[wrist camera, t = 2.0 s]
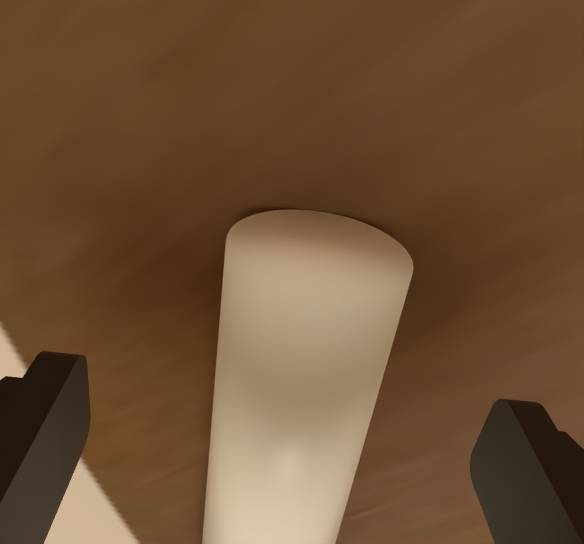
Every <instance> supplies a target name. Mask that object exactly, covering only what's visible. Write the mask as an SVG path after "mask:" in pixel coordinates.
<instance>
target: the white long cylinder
mask: <svg viewBox="0 0 584 544" xmlns="http://www.w3.org/2000/svg"><path fill="white" fill-rule="evenodd" d="M412 274H413V262H412V259H411V257H410V255H409V253H408V252H407V250H406V249H405V248H404V247H403V246H402V245H401V244H400V243H399V242H397V241H396V240H395V239H394V238H392V237H391V236H389V235H388V234H386V233H384V232H383V231H381V230H379V229H377V228H375V227H373V226H370V225H368V224H366V223H363V222H360V221H357V220H355V219H351V218H348V217H344V216H340V215H336V214H332V213H326V212H320V211H312V210H293V209H290V210H274V211H267V212H262V213H258V214H254V215H251V216H249V217H246V218H244V219H242V220H240V221H239V222H237V223H236V224H235V225H234V226H233V227H232V228H231V229H230V230H229V232H228V234H227V237H226V246H225V258H224V271H223V284H222V297H221V309H220V322H219V335H218V347H217V360H216V373H215V386H214V398H213V411H212V424H211V437H210V449H209V462H208V475H207V488H206V500H205V513H204V526H203V538H202V544H335V543H336V539H337V536H338V532H339V529H340V525H341V522H342V518H343V515H344V511H345V508H346V504H347V501H348V497H349V494H350V490H351V487H352V483H353V480H354V476H355V473H356V469H357V466H358V462H359V459H360V455H361V452H362V448H363V445H364V441H365V438H366V434H367V431H368V427H369V424H370V421H371V417H372V414H373V410H374V407H375V403H376V400H377V396H378V393H379V389H380V386H381V382H382V379H383V375H384V372H385V368H386V365H387V361H388V358H389V354H390V351H391V347H392V344H393V340H394V337H395V333H396V330H397V326H398V323H399V319H400V316H401V312H402V309H403V305H404V302H405V298H406V295H407V291H408V288H409V284H410V281H411V277H412Z"/></svg>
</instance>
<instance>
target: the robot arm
mask: <svg viewBox="0 0 584 544" xmlns="http://www.w3.org/2000/svg"><path fill="white" fill-rule="evenodd" d="M89 426H90V400H89V385H88V370H87V360H86V357H85V356H84V355H76V354H67V353H57V352H47V351H42V352H40V353H39V354H38V355H37V357H36V358H35V359H34V361H33V363H32V364H31V366H30V367H29V369H28V370H27V372H26V373H25V375H24V376H23V378H17V377H8V376H6V377H4V378H3V379H1V380H0V544H44V541H45V539H46V537H47V534H48V532H49V530H50V527H51V525H52V522H53V520H54V518H55V515H56V513H57V510H58V508H59V506H60V503H61V501H62V499H63V496H64V494H65V492H66V489H67V487H68V485H69V482H70V480H71V477H72V475H73V473H74V470H75V468H76V466H77V463H78V461H79V459H80V456H81V454H82V451H83V449H84V446H85V443H86V440H87V436H88V432H89ZM470 472H471V479H472V482H473V486H474V488H475V491H476V494H477V496H478V499H479V502H480V504H481V507H482V510H483V512H484V515H485V518H486V520H487V523H488V526H489V529H490V531H491V534H492V537H493V539H494V542H495V544H584V449H583V448H582V447H581V446H579V445H578V444H577V443H576V442H575V441H574V440H573V439H572V438H571V437H570V436H569V435H568V434H567V433H566V432H562V431H558V430H557V428H556V426H555V425H554V423H553V422H552V420H551V418H550V417H549V415H548V413H547V412H546V410H545V408H544V407H543V406H542V405H541V404H539V403H537V402H528V401H519V400H509V399H498V400H497V401H496V402H495V403H494V404H493V406H492V408H491V411H490V413H489V415H488V417H487V419H486V422H485V424H484V426H483V428H482V431H481V433H480V435H479V437H478V439H477V442H476V444H475V446H474V448H473V451H472V454H471V460H470Z"/></svg>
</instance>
